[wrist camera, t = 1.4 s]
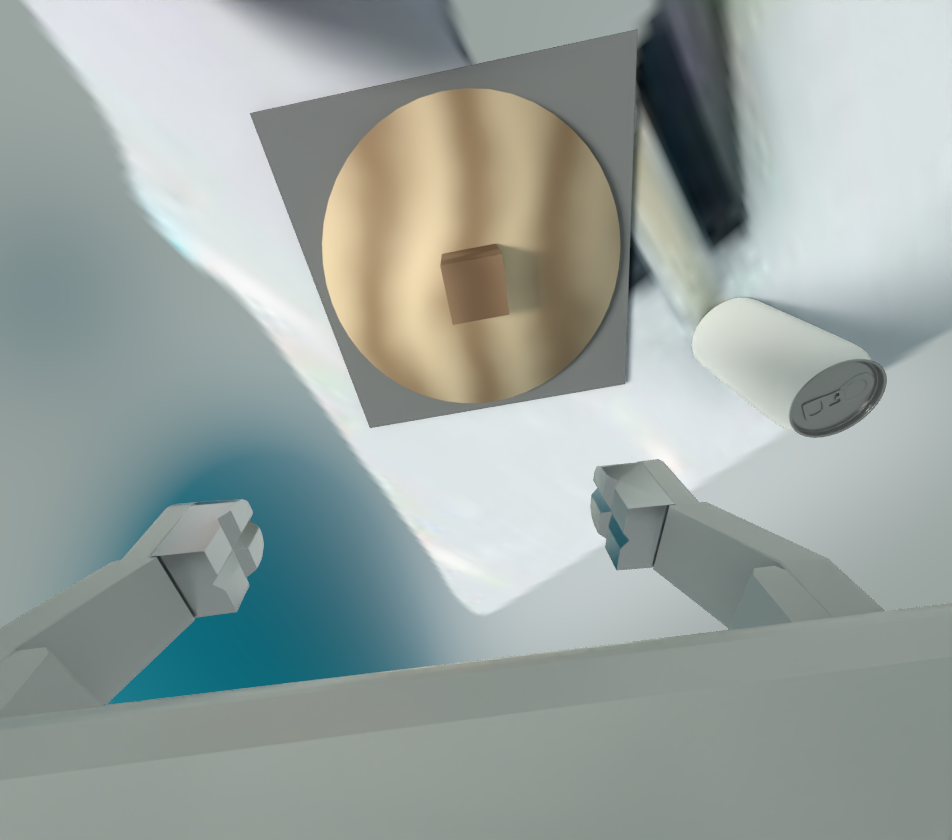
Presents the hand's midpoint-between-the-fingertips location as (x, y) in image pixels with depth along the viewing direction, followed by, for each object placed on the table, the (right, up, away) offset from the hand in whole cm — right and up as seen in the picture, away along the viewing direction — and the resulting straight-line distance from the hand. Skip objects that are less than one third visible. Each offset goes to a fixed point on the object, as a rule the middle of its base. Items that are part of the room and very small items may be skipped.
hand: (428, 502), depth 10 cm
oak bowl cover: (+1, +13, +21) cm, 25 cm away
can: (+23, +10, +26) cm, 36 cm away
